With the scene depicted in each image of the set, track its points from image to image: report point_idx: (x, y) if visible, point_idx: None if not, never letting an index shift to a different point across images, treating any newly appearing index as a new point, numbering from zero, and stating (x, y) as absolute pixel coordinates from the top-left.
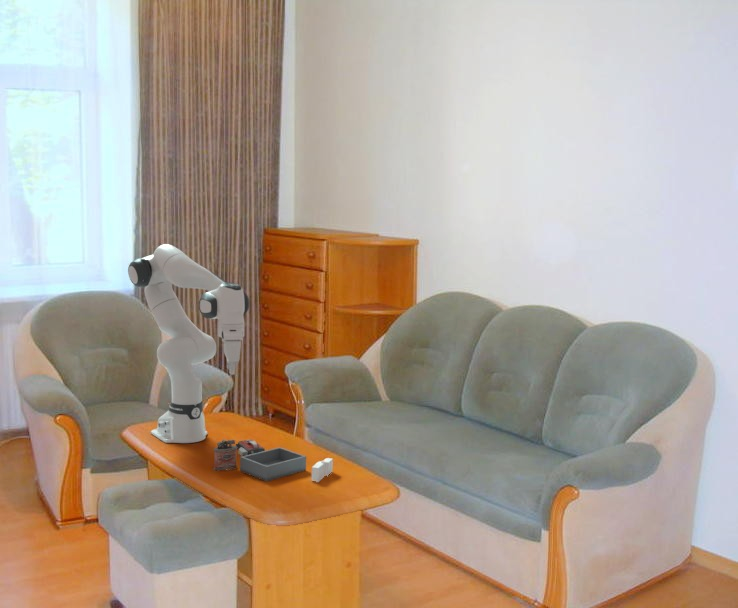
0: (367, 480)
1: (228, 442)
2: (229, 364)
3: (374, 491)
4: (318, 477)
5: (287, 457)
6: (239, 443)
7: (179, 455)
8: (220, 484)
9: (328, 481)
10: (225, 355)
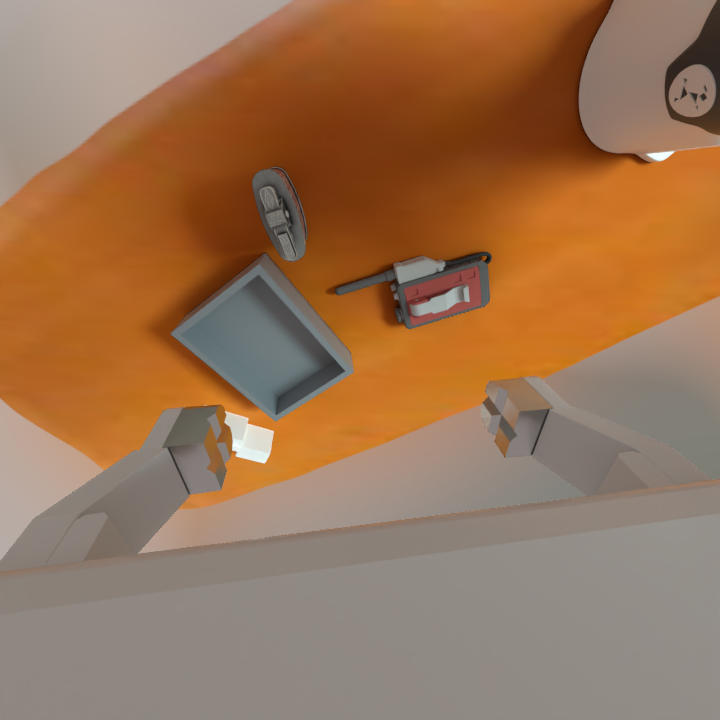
0: (224, 484)
1: (275, 233)
2: (49, 524)
3: None
4: None
5: (320, 377)
6: (470, 264)
7: (450, 25)
8: (132, 184)
9: None
10: (497, 536)
